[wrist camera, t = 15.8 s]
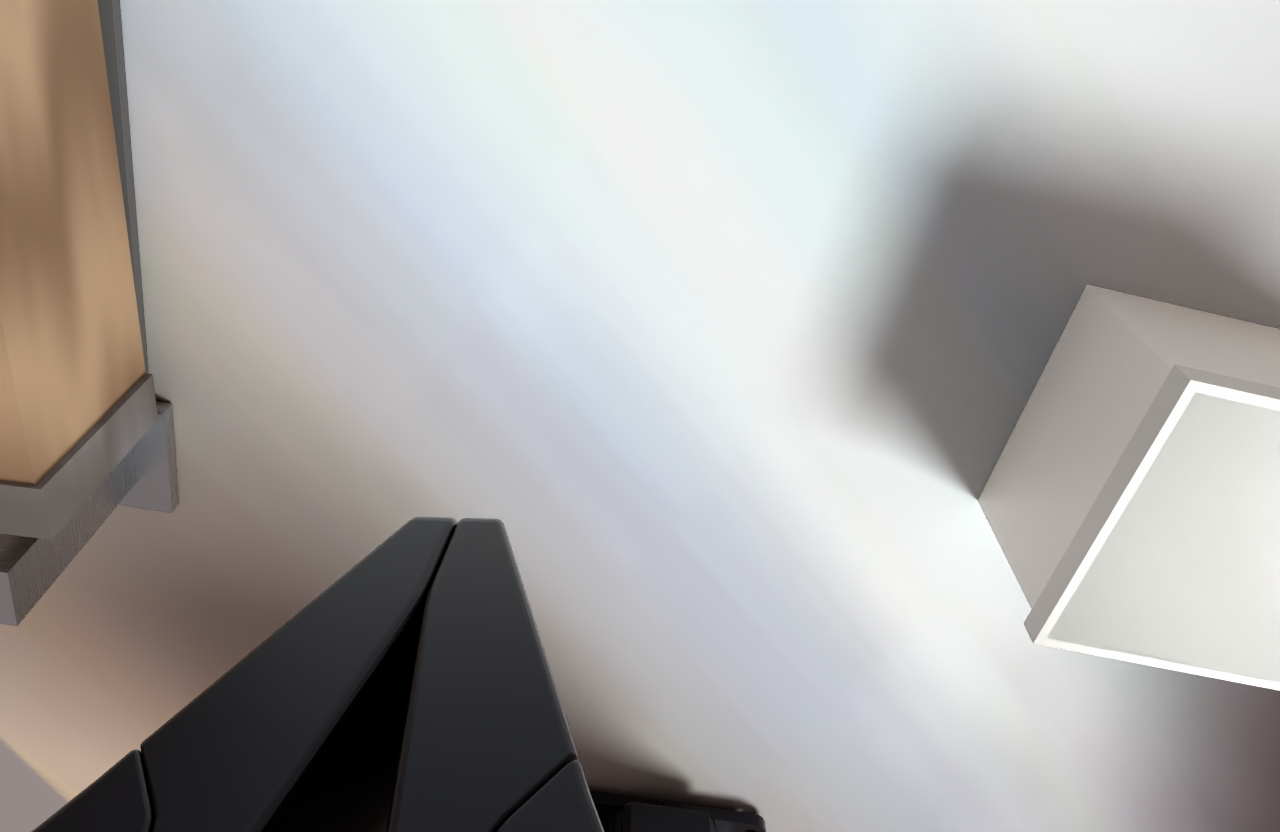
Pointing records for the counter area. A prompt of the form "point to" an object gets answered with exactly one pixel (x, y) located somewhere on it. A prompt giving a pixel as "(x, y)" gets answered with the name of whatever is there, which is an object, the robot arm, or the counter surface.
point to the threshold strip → (122, 138)
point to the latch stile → (90, 519)
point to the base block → (1150, 490)
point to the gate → (62, 272)
